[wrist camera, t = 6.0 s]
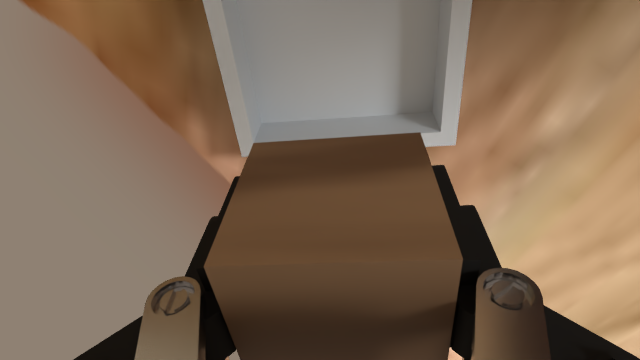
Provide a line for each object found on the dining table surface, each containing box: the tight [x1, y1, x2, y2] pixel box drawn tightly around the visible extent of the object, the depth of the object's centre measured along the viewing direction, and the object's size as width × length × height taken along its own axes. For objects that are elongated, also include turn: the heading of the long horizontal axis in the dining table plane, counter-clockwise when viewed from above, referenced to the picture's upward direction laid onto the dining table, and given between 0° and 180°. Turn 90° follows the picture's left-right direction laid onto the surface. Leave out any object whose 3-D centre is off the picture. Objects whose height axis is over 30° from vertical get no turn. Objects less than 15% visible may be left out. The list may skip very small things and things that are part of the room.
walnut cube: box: [204, 132, 463, 360], centre depth 11 cm, size 5×5×5 cm
